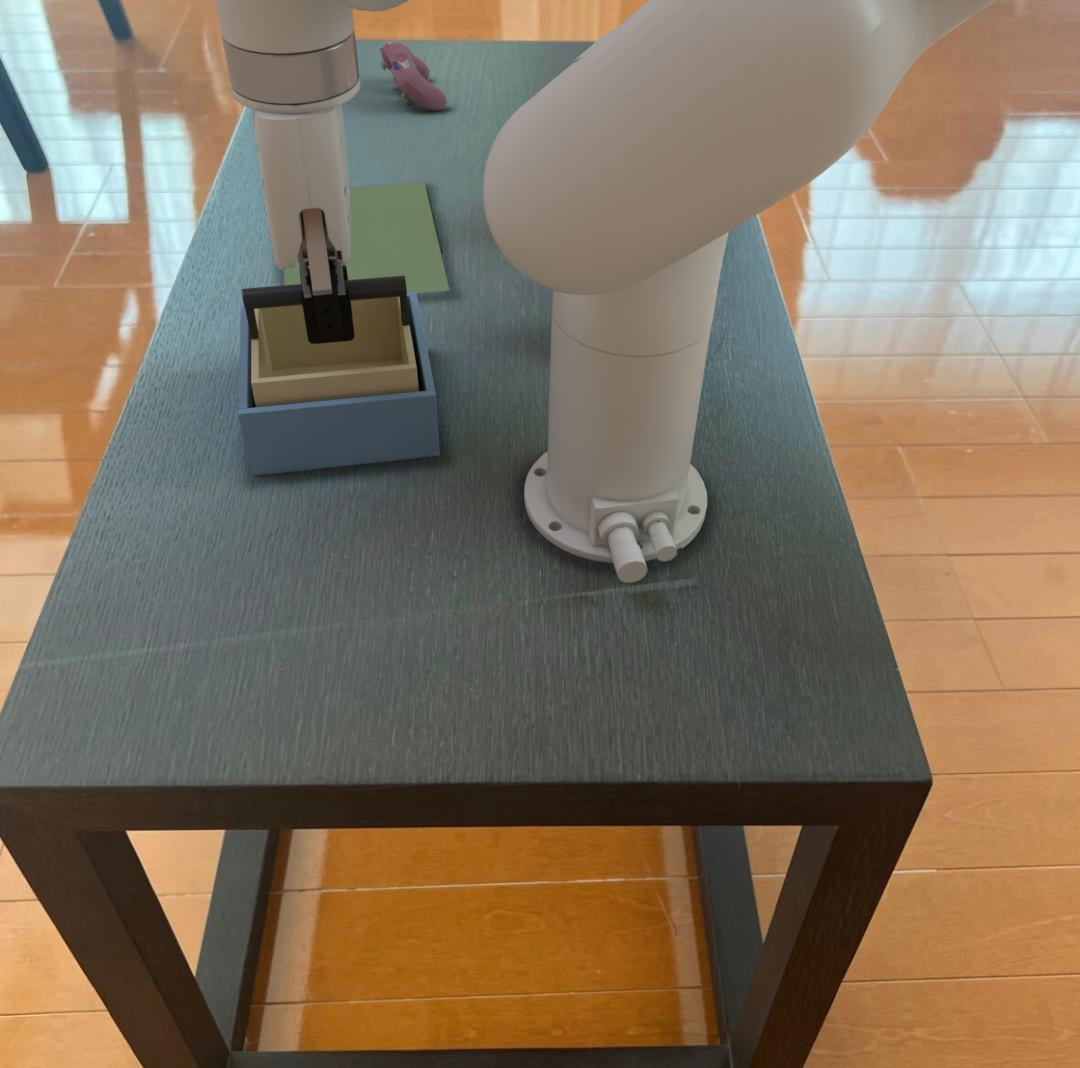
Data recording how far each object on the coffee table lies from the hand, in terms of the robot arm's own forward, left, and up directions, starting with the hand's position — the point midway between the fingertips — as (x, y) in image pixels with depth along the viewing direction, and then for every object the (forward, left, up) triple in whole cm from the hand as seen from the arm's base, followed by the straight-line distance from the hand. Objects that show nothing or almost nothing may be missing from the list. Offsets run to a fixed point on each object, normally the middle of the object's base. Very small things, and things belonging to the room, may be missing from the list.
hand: (330, 327), depth 75 cm
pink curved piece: (+57, -11, -8) cm, 59 cm away
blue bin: (0, 0, -8) cm, 8 cm away
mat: (+25, -3, -8) cm, 26 cm away
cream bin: (0, 0, -7) cm, 7 cm away
